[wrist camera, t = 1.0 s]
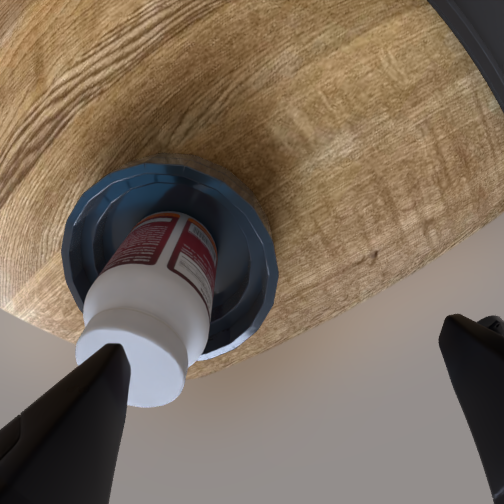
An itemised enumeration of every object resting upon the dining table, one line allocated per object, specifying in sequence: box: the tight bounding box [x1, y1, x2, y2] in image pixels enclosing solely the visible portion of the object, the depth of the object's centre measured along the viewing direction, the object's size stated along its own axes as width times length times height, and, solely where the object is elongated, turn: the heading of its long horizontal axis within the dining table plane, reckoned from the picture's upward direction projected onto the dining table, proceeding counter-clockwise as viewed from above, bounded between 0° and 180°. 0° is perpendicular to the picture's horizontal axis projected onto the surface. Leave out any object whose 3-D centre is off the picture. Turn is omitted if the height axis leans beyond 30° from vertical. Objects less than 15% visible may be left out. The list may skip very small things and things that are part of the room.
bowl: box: [61, 153, 279, 361], centre depth 20 cm, size 13×13×4 cm
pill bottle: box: [75, 211, 217, 407], centre depth 16 cm, size 6×6×11 cm
